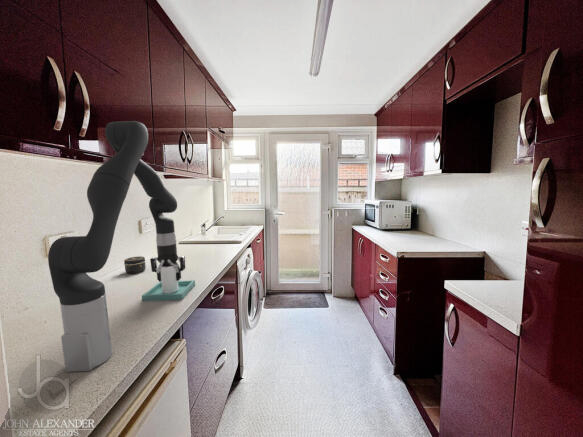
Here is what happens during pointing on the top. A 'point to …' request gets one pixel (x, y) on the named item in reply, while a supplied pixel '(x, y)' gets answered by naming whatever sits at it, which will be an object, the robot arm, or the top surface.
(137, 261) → the jar
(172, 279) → the can
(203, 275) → the top surface
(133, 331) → the top surface
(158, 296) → the tray
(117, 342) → the top surface
